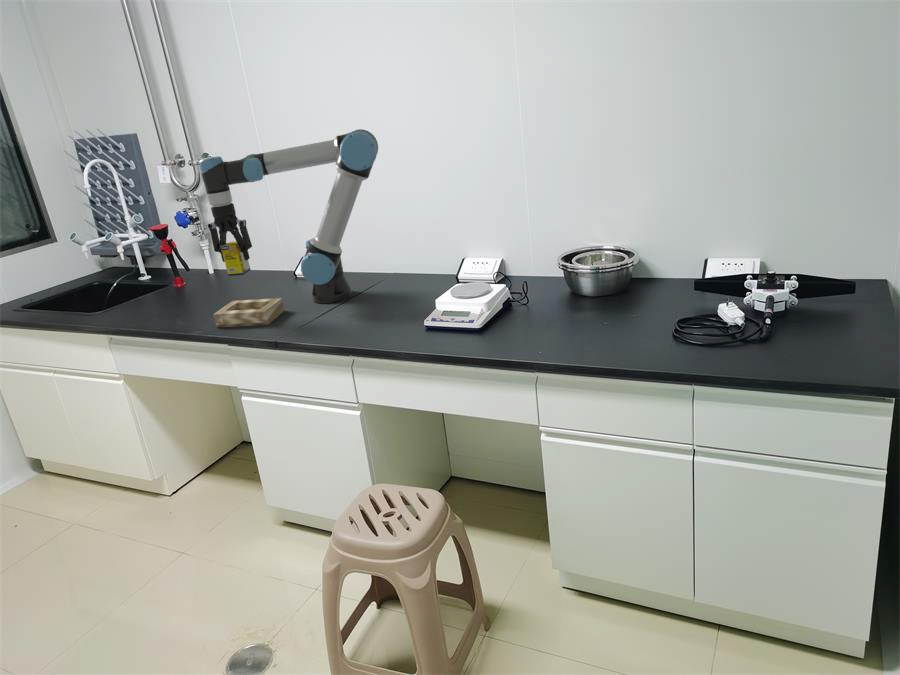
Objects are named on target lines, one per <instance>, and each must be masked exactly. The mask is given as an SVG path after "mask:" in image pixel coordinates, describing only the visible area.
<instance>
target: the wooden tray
mask: <svg viewBox="0 0 900 675" xmlns="http://www.w3.org/2000/svg"><path fill="white" fill-rule="evenodd" d="M285 311H286V310H285V306H284V301H283V298H282V297H277V298H257V299H244V300H243V299H242V300H231V301H230V302H228V303H227V304H226V305H224V306H223V307H222V308H221V309H218V311H216V312H214V313H213V318H214V322H215V326H216V328H231V327H233V328H234V327H253V326H255V327H257V326H269V325H270V324H271V323H273V322H274V321H275V320H276V319H277V318H278V317H279V316H281V315H282V314H283V313H284V312H285Z"/></svg>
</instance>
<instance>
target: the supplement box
mask: <svg viewBox="0 0 900 675" xmlns="http://www.w3.org/2000/svg"><path fill="white" fill-rule="evenodd" d="M221 250H222V254H223V258H224V261H225V262H224V264H225V269H226V272H227V275H228V277H235V276H245V274H246V273H248V272H250V271H251V267H250V268H249V269H247V270H244V266H243V262H242V259H241V255H240V252H241V251H242V250H241V249H240V247H239V245H238V243H237V241H236V240H233V241H228V242H226V244H224V245H222V246H221Z"/></svg>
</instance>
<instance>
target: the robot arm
mask: <svg viewBox="0 0 900 675" xmlns="http://www.w3.org/2000/svg"><path fill="white" fill-rule="evenodd" d="M378 152H379V144H378V141H377V139H376V136H375V135H374V134H373V133H372V132H370V131H368V130H366V129H361V128H360V129H355V130H353V131H349V132H348V133H345V134H341V135H339V134H338V135H336V136H335V137H334V139H330V140H325V141H319V142H318V141H317V142H313V143H308V144H304V145H297V146H293V147H287V148H281V149H277V150H272V151H266V152H263V153H262V152H261V153H252V154H248V155H246V156H244V157H243V158H241V159H237V160H231V161H224V160H223V157H222V156H219V155H218V156H217V155H216V156H210V157H206V158H205V157H204V158H201V159H200V160H199V162H198V163H199V167H200V174H201V176H202V180H203V183H204V188H205V191H206V196H207V199H208V202H209V206H210V210H211V214H212V217H213V218H214V219H213V222H210V223H208V224H207V228H208V230H209V231H210V236H211V242H212V246H213V251H214V252H215V253H220V256H221V260H222V262H223V263H225V261H224V258H223V254H222V250H221V246H222V245H224V244H226V243H227V235H228V232H229V233H230V234H231V235H232V236H233V238H234V239H235V240H234V241H237V243H238V245H239V247H240V249H241V250H242V251H241V252H240V255H241V259H242V262H243V266H244V270H247V269H249V268H250V269H251V266H250V262H249V260H250V254H249V250H250V249H251V248H253V245H252V244H253V243H252V242H251V241H252V240H251V238H250V234H249V231H248V228H247V220H246V219H239V218H238V217H237V215H236V208H235V205H234V203H233V196H232V194H231V189H230V185H236V184H239V185H240V184H244V183H245V184H246V183H254V182H259V181H262V180H263V179H264V176H269V175H273V174H279V173H285V172H290V171H296V170H301V169H306V168H312V167H318V166H323V165H328V164H334V163H335V168H336V171H337V173H336V176H335V180H334V182H333V185H332V187H331V190H330V194H329V197H328V200H327V203H326V205H325V206H326V207H325V208H324V211H323V215H322V218H321V221H320V223H319V227H318V230H317V232H316V236H315V237H313V238H311V239H308V240H306V242H305V249H306V250H305V254H304V256H303V259H302V260H301V262H300V272H301V274H302V276H303V278H304V279H305V280H306V281H307V282H309V283H311V284H312V289H311V297H312V302H314V303H316V304H332V303H336V302H341V301H343V300H346V299H349V298H350V297H351V296H352V294H353V291H352V287H351V285H350V283H349V281H348V280H347V278H346V276H345V274H344V269H343V268H344V267H343V263H342V257H341V256H342V253H343V249H342V248H341V243H342V239H343V236H344V234H345V232H346V229H347V226H348V223H349V219H350V217H351V214H352V211H353V209H354V206H355V203H356V200H357V198H358V197H357V196H358V194H359V191H360V188H361V186H362V184H363V182H364V181H365V180H368V179H369V177H370V174H371V172H372V168H373V165H374V163H375V161H376V158H377V155H378ZM238 227H239V228H238ZM217 228H218V229H217Z"/></svg>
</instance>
